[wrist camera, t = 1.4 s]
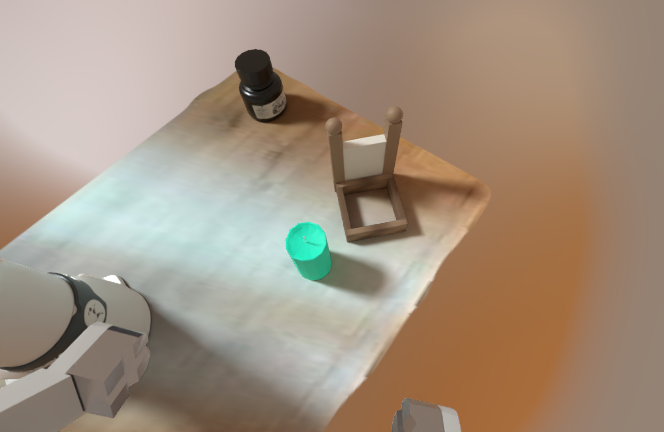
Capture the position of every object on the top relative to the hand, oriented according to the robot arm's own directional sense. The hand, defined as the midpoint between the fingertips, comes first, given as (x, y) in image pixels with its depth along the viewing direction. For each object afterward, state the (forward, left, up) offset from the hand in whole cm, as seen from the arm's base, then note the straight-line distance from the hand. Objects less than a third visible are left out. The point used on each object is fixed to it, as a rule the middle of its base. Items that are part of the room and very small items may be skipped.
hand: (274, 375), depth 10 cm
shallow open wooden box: (+10, +26, -42) cm, 51 cm away
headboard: (+10, +32, -42) cm, 54 cm away
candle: (-1, +18, -42) cm, 46 cm away
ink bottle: (-6, +56, -42) cm, 70 cm away
